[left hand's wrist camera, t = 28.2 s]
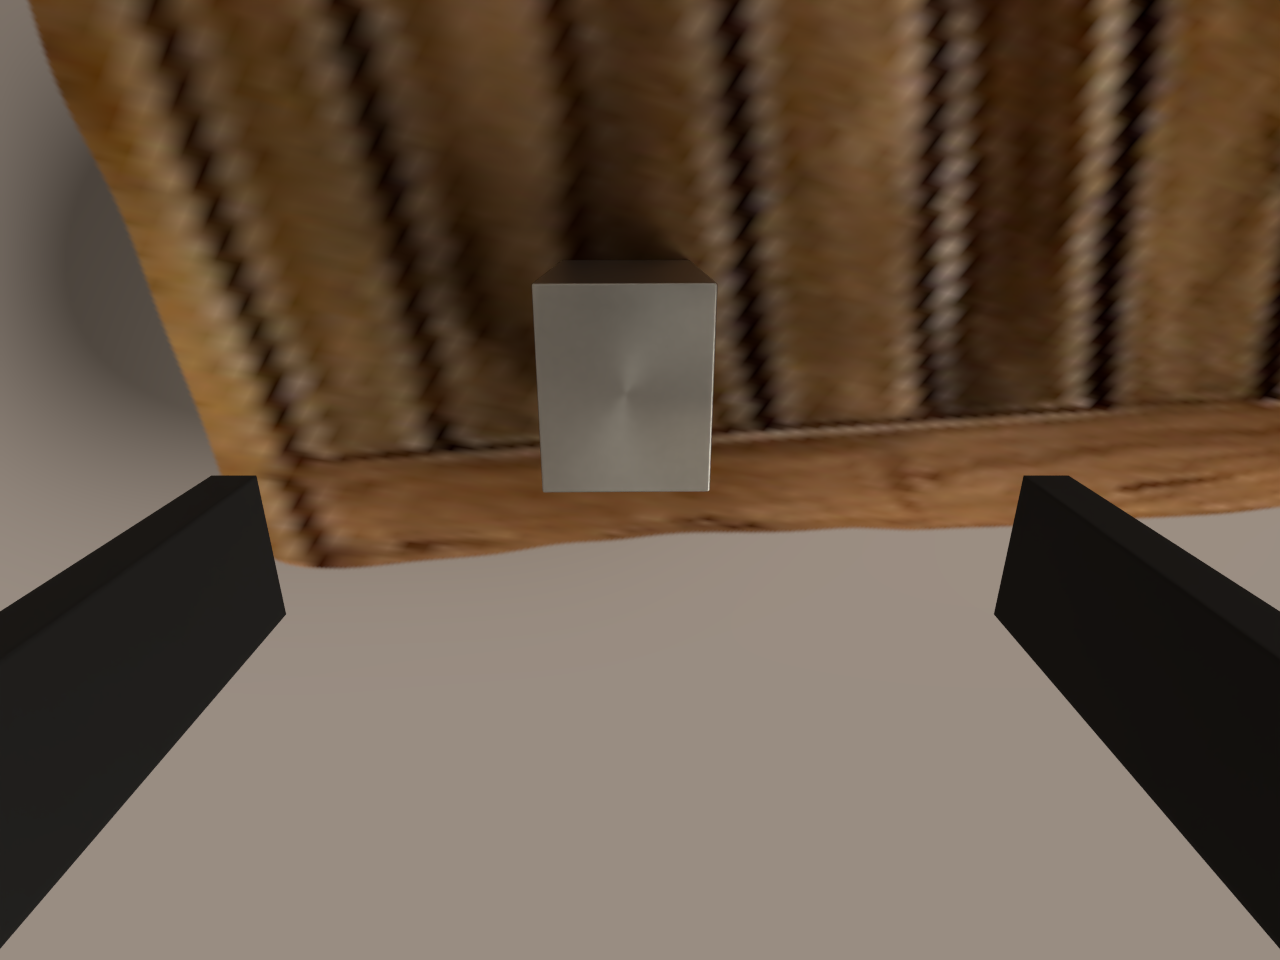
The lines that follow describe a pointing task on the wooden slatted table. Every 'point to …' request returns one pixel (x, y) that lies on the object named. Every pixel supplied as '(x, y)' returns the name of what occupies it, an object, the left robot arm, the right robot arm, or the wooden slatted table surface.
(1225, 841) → the left robot arm
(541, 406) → the grey boxy piece
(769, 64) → the wooden slatted table surface
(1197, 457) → the wooden slatted table surface
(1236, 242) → the wooden slatted table surface
